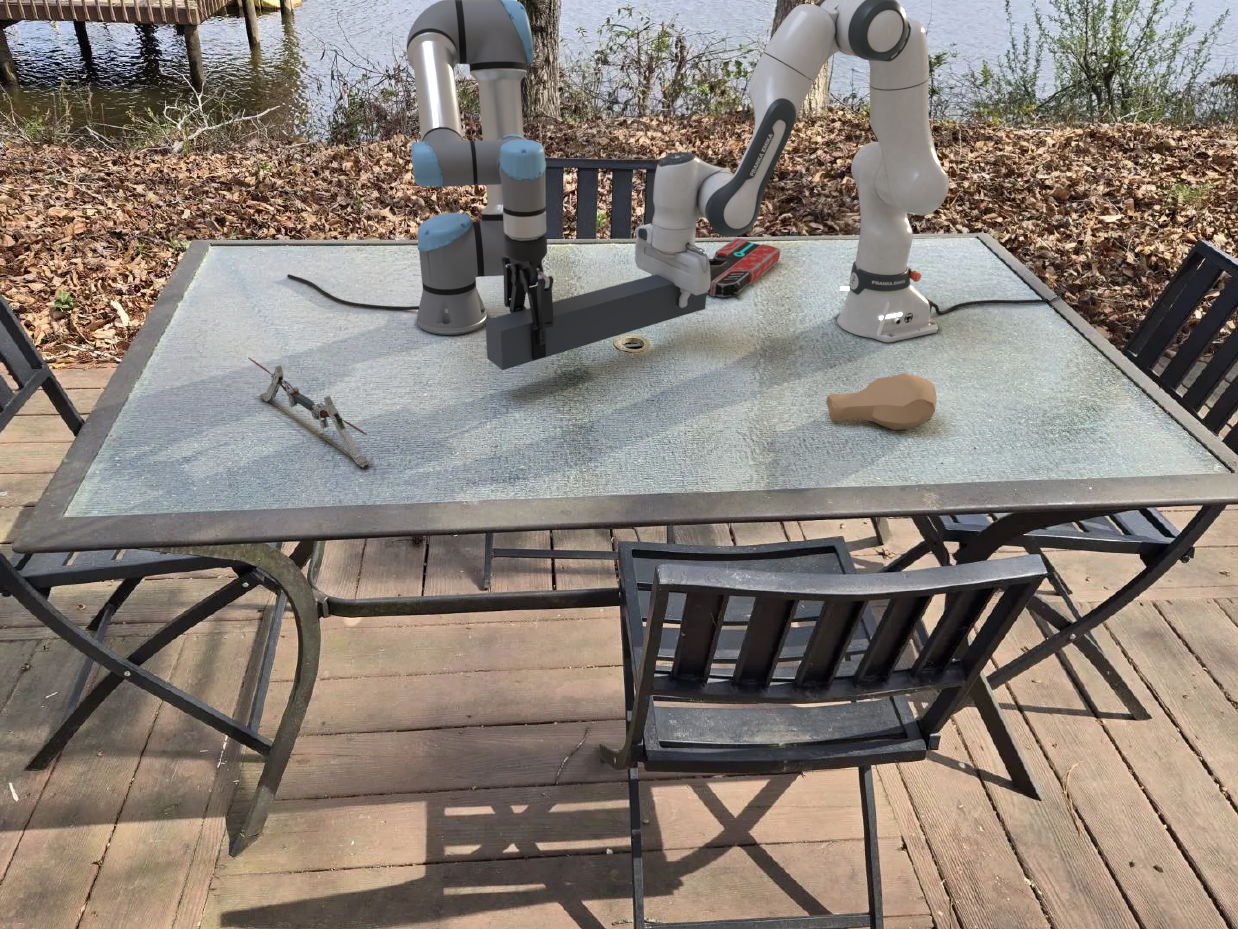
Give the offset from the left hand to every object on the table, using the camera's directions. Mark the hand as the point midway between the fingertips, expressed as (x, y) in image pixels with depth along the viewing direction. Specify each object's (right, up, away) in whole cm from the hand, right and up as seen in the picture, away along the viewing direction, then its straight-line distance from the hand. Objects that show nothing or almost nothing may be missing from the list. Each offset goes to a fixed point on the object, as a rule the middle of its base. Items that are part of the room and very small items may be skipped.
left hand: (529, 350), depth 168 cm
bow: (-38, -16, -11) cm, 43 cm away
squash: (+66, -14, -3) cm, 68 cm away
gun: (+44, +27, +57) cm, 77 cm away
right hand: (+28, +13, +17) cm, 35 cm away
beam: (+14, +5, +10) cm, 18 cm away
